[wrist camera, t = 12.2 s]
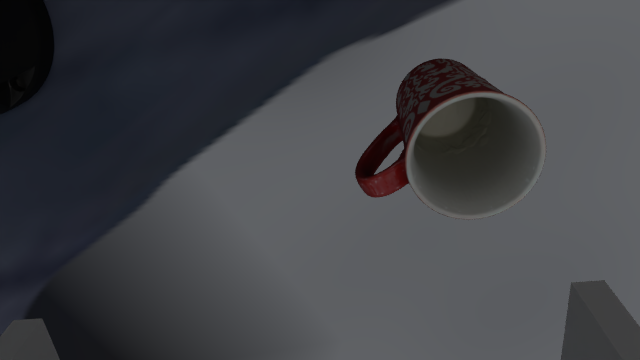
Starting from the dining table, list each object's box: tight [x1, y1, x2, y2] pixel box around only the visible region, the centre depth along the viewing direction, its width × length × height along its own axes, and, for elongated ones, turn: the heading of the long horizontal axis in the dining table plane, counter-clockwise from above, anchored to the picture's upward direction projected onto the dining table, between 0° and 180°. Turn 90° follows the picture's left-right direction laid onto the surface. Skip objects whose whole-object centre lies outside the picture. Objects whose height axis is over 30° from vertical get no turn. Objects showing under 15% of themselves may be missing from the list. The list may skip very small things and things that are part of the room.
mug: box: [355, 59, 546, 219], centre depth 40 cm, size 13×9×14 cm
